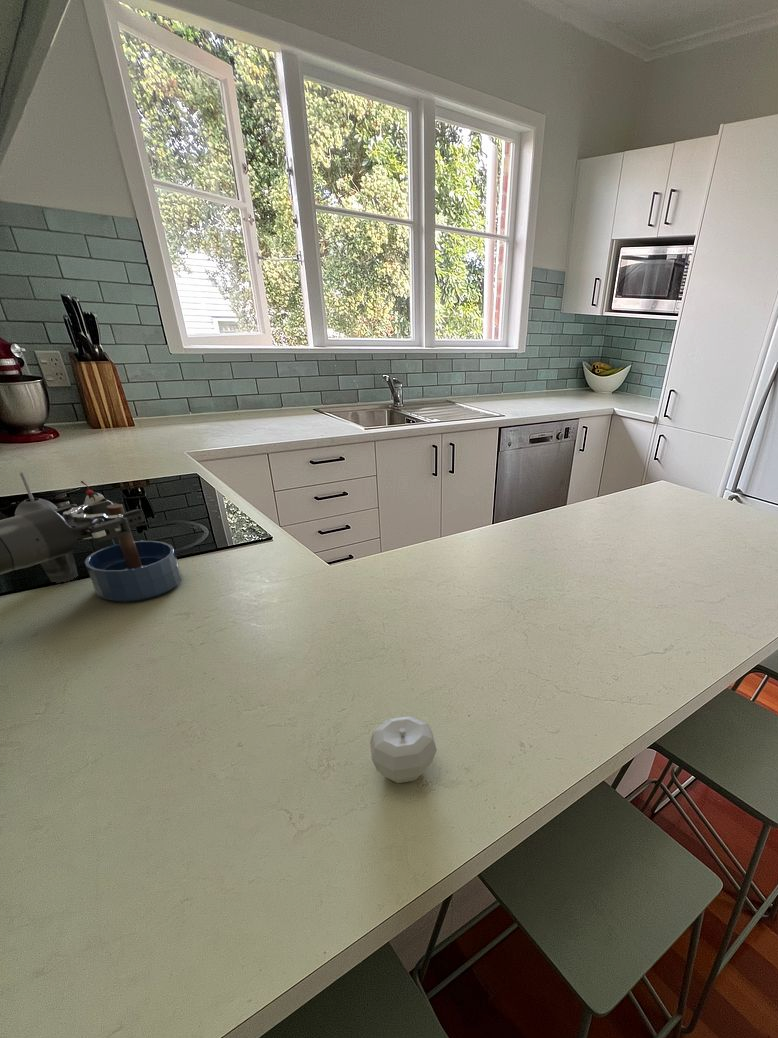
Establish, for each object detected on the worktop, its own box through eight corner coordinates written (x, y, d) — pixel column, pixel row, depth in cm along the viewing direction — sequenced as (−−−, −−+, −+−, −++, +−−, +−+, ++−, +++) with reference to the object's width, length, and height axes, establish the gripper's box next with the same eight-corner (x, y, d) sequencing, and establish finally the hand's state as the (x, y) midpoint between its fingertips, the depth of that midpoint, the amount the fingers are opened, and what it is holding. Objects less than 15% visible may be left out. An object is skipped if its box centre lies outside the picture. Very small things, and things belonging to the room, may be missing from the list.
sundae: (100, 547, 118) (74, 478, 110) (134, 544, 120) (112, 476, 112) (91, 559, 113) (64, 487, 105) (128, 556, 115) (104, 485, 107)
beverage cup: (42, 589, 101) (-6, 482, 90) (40, 575, 106) (-5, 471, 95) (88, 580, 104) (47, 476, 94) (84, 567, 109) (45, 466, 99)
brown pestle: (124, 588, 101) (96, 509, 93) (134, 578, 104) (108, 502, 96) (146, 588, 101) (121, 509, 93) (155, 578, 104) (131, 502, 96)
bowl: (81, 604, 96) (67, 571, 93) (120, 571, 108) (109, 540, 105) (164, 604, 98) (154, 571, 94) (193, 571, 110) (185, 540, 106)
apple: (416, 739, 70) (414, 699, 66) (450, 777, 64) (450, 735, 61) (359, 765, 65) (354, 724, 62) (391, 807, 60) (387, 765, 57)
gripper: (48, 524, 80) (147, 496, 92) (-8, 508, 85) (93, 483, 97) (67, 571, 84) (160, 537, 96) (12, 552, 89) (107, 523, 101)
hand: (126, 510), depth 97 cm, fingers open, 8 cm apart
